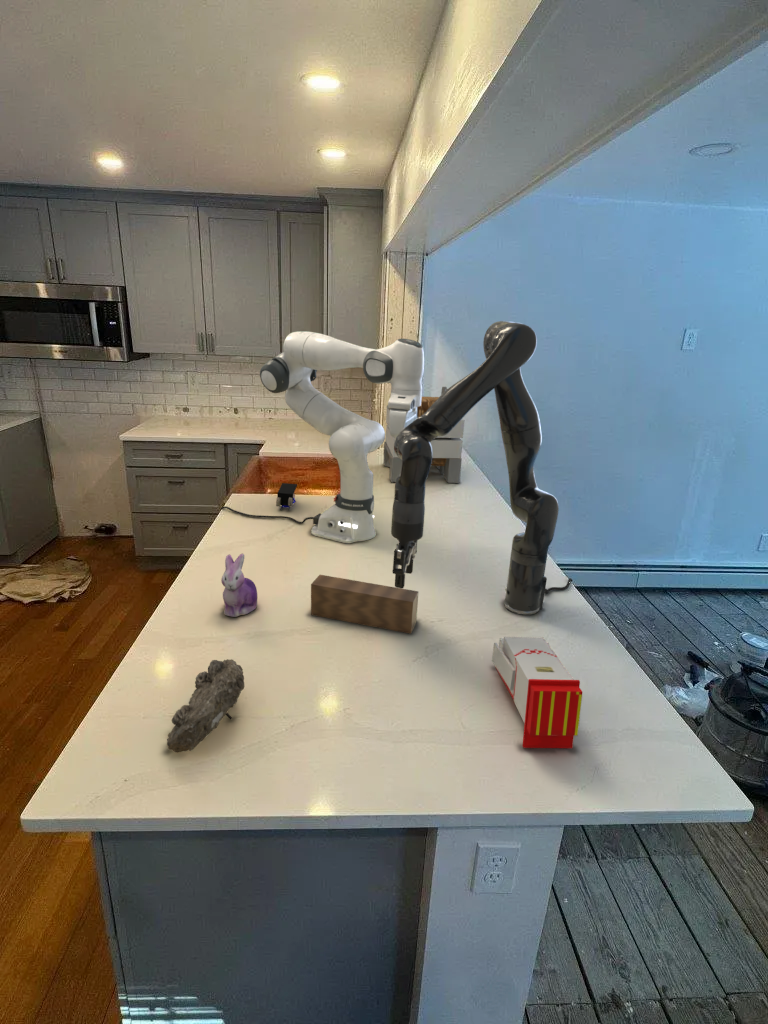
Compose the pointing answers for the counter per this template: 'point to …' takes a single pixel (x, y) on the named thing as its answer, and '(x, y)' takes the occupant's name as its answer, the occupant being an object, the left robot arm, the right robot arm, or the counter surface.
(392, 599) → the box
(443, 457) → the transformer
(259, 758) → the counter surface
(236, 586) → the figurine
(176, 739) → the fossil
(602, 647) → the counter surface
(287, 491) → the figurine character
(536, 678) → the toy
